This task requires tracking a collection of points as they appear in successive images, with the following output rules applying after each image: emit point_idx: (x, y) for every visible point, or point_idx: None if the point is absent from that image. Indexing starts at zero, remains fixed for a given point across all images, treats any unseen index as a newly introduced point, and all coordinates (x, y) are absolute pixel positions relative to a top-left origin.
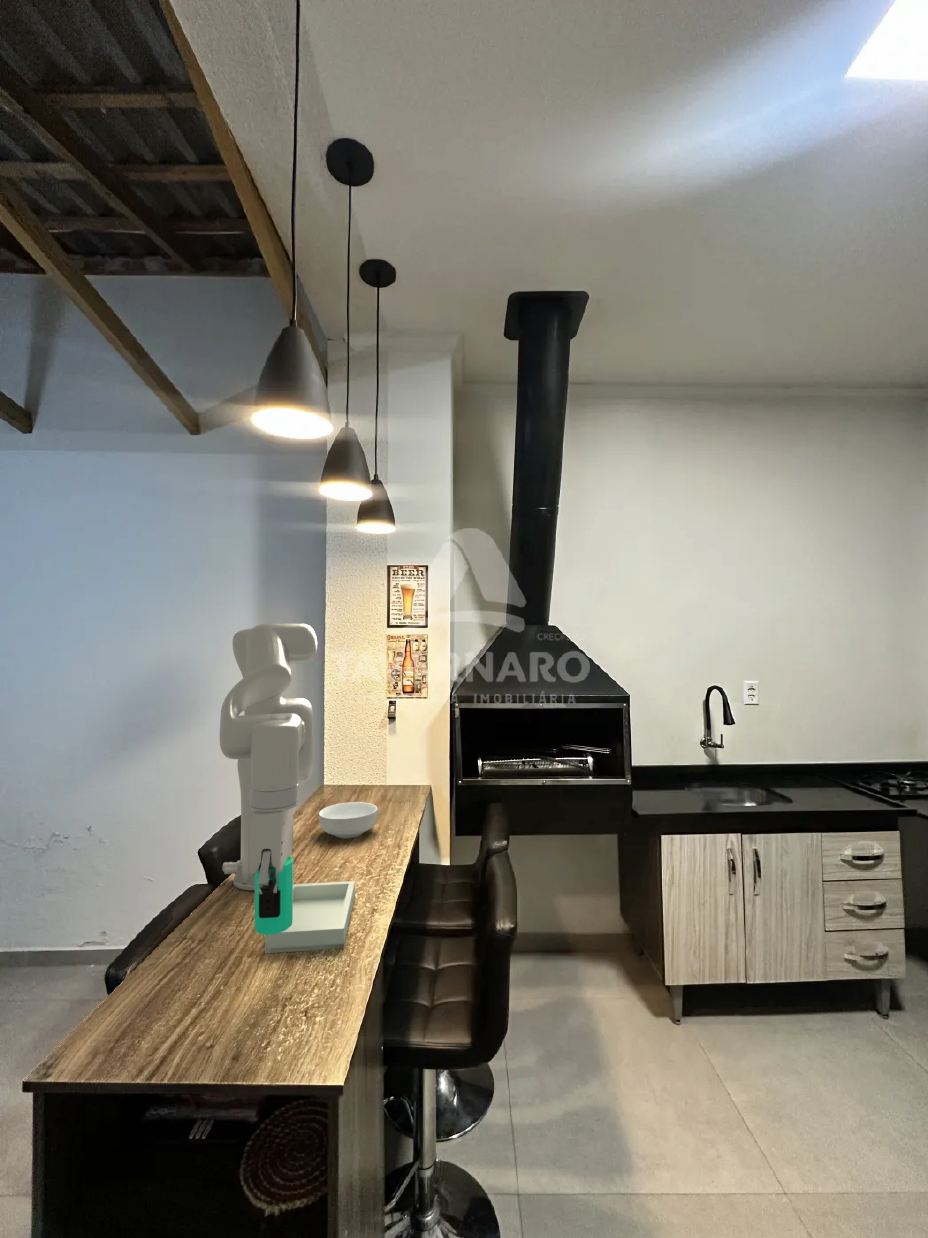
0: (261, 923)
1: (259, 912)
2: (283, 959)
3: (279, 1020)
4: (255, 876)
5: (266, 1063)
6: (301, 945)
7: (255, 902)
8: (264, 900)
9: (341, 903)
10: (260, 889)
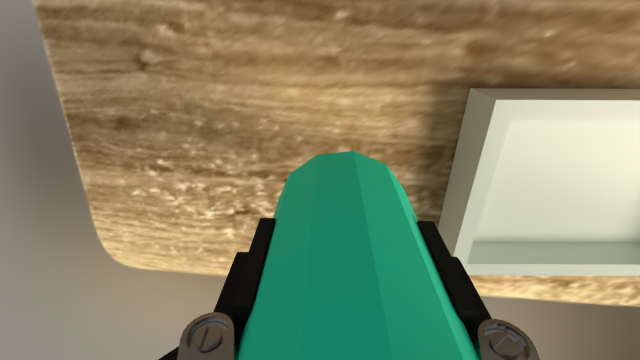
0: (279, 204)
1: (255, 232)
2: (428, 138)
3: (222, 174)
4: (290, 356)
5: (120, 176)
6: (455, 177)
7: (302, 220)
8: (220, 303)
9: (626, 231)
10: (182, 352)
